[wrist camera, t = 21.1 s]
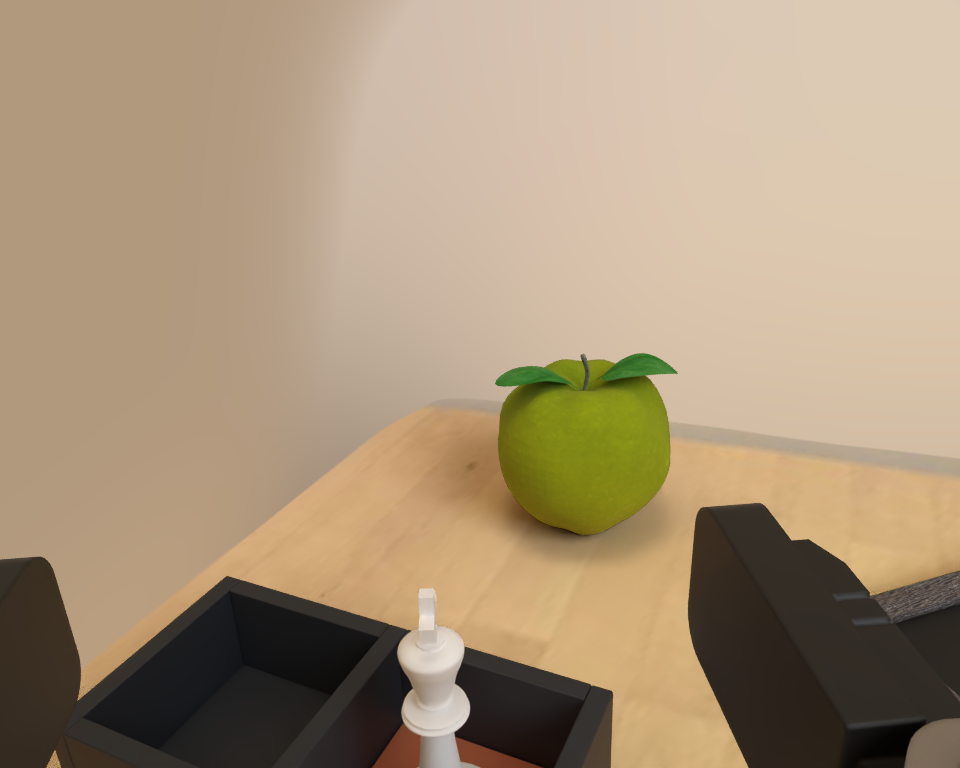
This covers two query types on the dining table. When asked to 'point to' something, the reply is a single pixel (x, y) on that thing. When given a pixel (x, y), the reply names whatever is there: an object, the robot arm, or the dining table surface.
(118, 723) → the caddy
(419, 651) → the chess piece
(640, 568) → the dining table surface
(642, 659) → the dining table surface
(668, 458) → the fruit
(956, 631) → the picture frame
